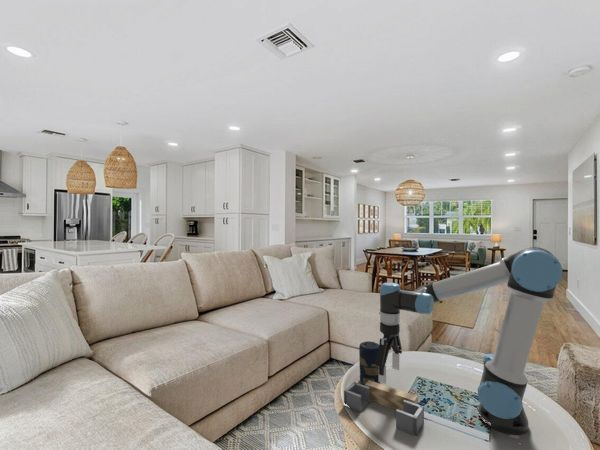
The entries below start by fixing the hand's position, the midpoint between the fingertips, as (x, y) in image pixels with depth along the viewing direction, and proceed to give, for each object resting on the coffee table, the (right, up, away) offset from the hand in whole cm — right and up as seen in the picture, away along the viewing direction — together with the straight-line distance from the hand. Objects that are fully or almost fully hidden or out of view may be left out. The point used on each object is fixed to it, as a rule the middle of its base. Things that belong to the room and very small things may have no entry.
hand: (389, 375), depth 122 cm
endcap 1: (-13, -12, 0) cm, 17 cm away
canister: (-4, -12, +17) cm, 21 cm away
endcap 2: (+4, -11, -13) cm, 18 cm away
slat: (0, -12, 0) cm, 12 cm away
